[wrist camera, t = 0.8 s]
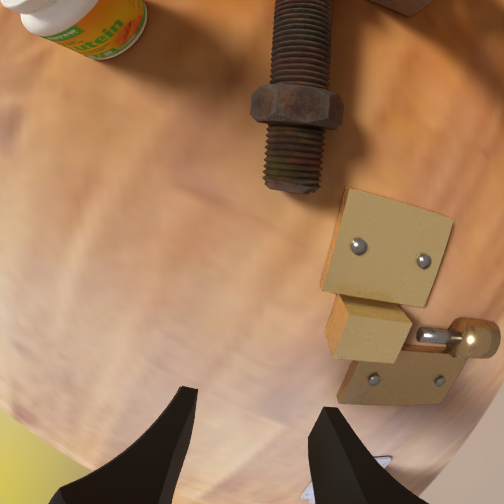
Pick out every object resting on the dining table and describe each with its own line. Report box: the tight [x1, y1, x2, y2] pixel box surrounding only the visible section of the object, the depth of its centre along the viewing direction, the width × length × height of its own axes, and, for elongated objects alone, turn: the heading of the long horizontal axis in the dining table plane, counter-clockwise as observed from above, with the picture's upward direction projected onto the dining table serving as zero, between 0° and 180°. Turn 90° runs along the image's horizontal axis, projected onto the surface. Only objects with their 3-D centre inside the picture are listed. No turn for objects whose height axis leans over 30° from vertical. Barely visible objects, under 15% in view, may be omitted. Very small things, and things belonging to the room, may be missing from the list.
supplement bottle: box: [1, 0, 147, 60], centre depth 11 cm, size 5×5×10 cm
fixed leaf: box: [337, 318, 501, 405], centre depth 21 cm, size 9×12×3 cm
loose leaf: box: [320, 187, 454, 363], centre depth 19 cm, size 10×8×3 cm
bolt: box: [250, 0, 343, 194], centre depth 14 cm, size 6×5×15 cm
